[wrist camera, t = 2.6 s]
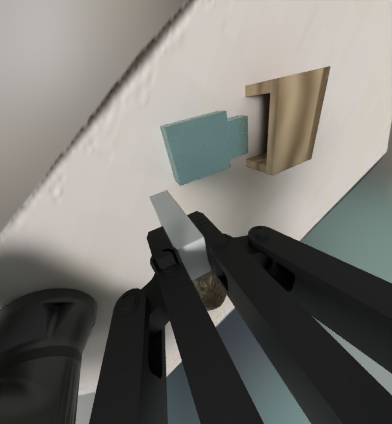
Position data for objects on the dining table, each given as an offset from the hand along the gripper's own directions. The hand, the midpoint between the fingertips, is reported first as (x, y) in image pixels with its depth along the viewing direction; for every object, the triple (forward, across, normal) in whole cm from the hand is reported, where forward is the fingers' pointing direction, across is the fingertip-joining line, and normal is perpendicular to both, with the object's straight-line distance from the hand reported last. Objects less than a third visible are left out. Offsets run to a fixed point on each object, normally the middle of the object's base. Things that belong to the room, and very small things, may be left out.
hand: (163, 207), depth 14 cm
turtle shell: (+16, +4, -36) cm, 40 cm away
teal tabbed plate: (+16, +12, 0) cm, 20 cm away
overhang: (+16, +26, 0) cm, 31 cm away
